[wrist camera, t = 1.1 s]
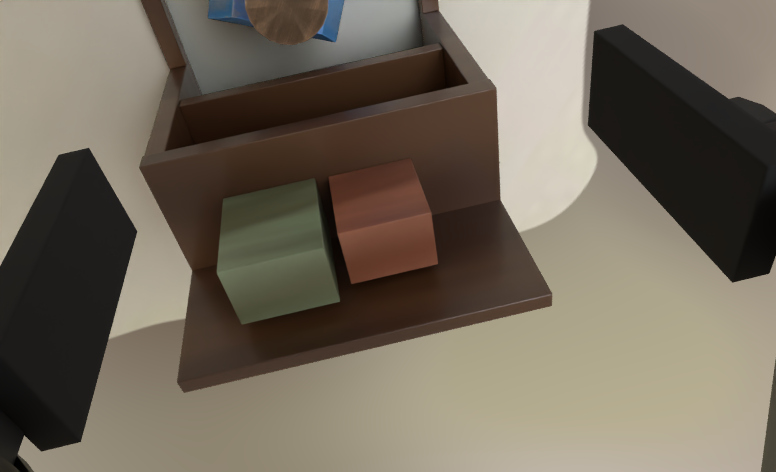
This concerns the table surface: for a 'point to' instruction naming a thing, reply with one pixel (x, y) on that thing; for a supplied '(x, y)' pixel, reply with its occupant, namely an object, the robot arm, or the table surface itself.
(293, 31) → the perfume bottle
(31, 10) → the table surface
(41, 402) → the robot arm
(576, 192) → the table surface
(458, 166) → the desk rack
